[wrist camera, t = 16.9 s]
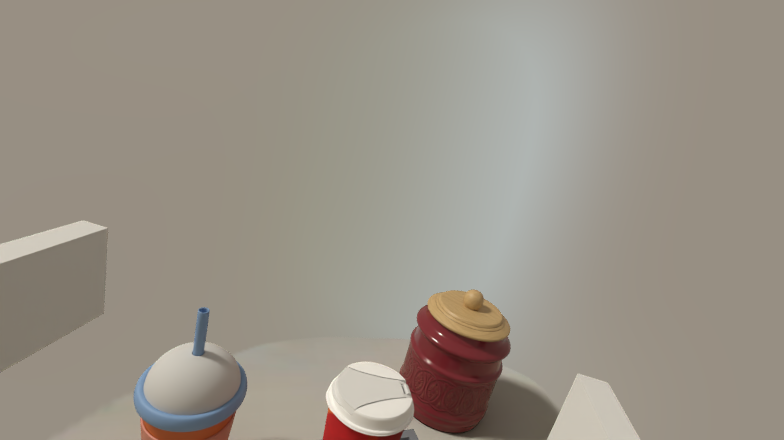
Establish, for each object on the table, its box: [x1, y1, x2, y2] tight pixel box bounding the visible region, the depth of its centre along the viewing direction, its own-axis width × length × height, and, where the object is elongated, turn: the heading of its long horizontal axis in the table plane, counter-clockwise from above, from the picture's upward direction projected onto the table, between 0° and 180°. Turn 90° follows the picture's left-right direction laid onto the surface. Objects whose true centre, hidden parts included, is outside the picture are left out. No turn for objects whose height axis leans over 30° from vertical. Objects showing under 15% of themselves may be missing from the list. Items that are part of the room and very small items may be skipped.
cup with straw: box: [134, 307, 247, 440], centre depth 36 cm, size 9×9×18 cm
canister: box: [399, 290, 510, 433], centre depth 55 cm, size 13×13×18 cm
